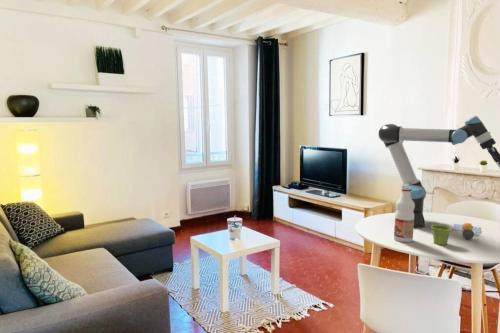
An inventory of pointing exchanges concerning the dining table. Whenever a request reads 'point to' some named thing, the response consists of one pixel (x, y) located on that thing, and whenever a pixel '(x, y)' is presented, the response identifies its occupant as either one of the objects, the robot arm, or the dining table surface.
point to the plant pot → (440, 234)
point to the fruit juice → (404, 217)
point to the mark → (459, 227)
